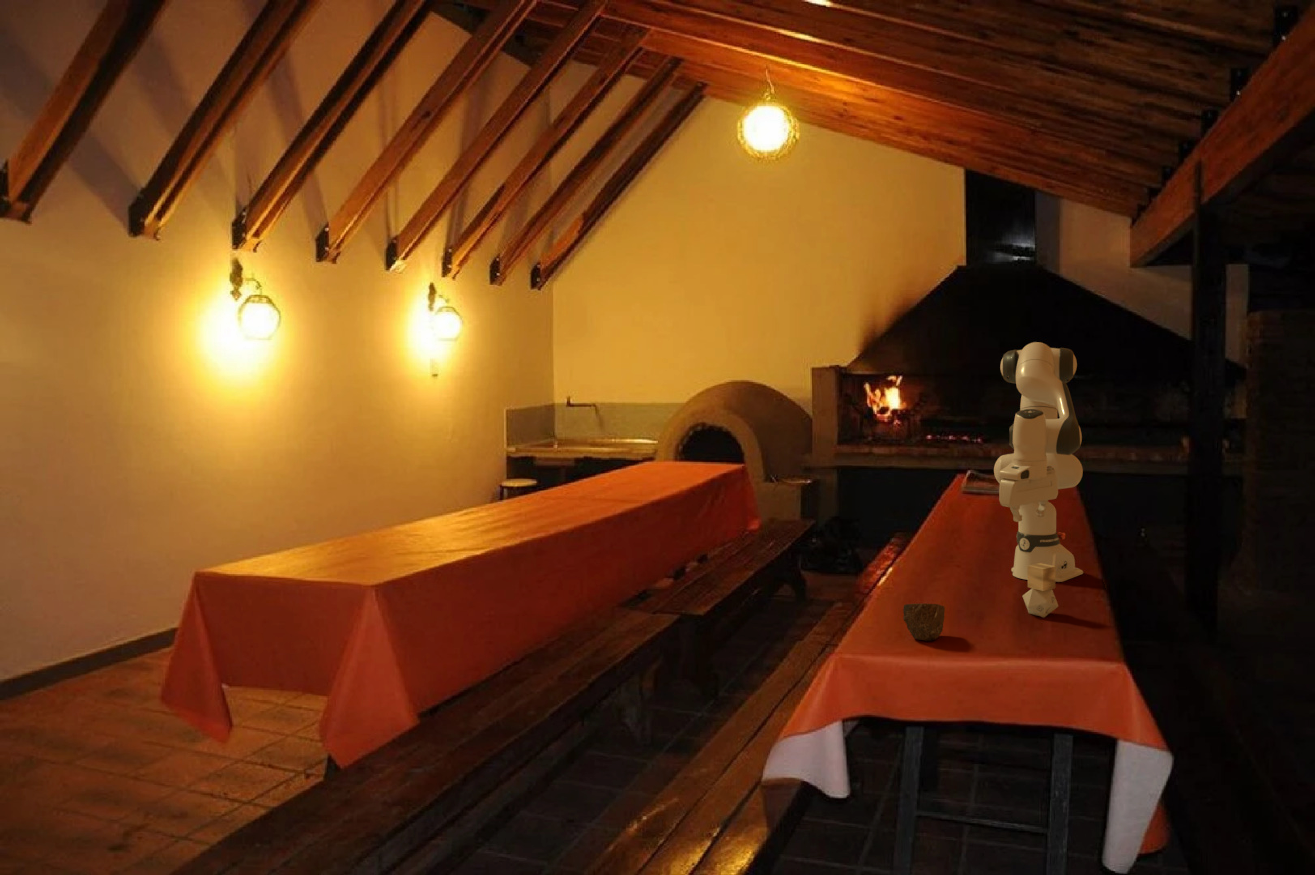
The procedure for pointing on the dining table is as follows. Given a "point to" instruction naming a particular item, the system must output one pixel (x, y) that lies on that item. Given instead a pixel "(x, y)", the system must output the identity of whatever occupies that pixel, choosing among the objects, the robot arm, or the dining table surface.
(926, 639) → the rock
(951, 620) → the dining table surface
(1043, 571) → the beech block
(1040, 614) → the die
